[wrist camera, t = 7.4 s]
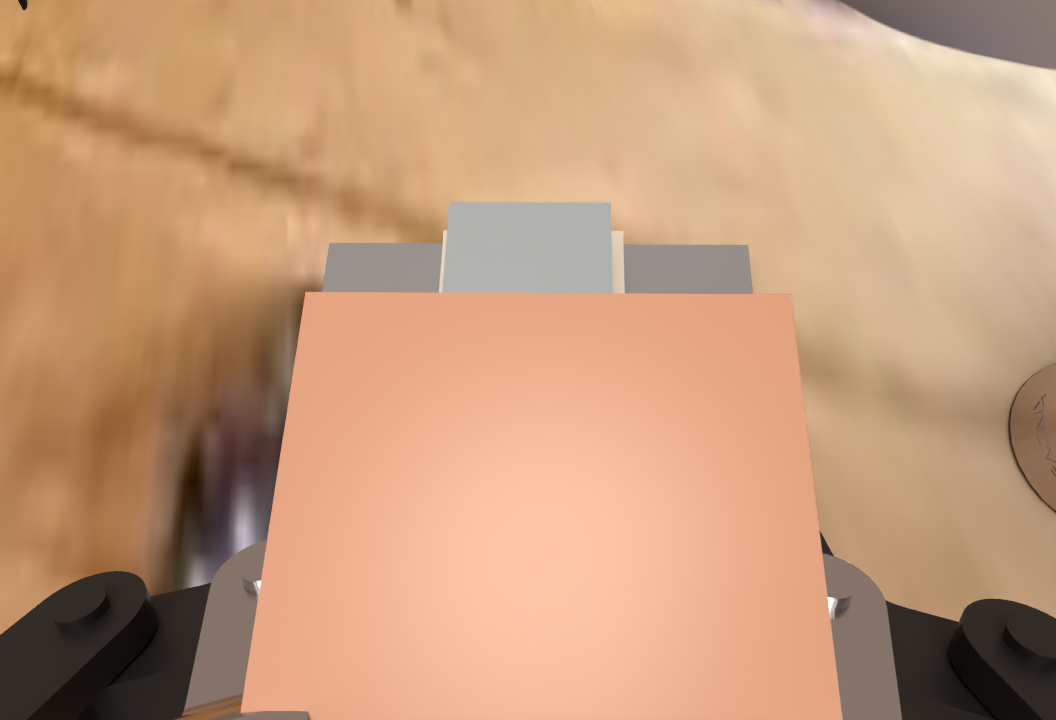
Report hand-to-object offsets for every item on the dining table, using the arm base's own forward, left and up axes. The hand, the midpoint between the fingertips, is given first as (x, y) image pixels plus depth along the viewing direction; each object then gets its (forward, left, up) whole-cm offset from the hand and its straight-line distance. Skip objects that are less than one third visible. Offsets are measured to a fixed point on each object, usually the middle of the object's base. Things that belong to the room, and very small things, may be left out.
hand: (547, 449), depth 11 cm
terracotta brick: (0, +2, -4) cm, 5 cm away
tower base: (+1, -9, -19) cm, 21 cm away
